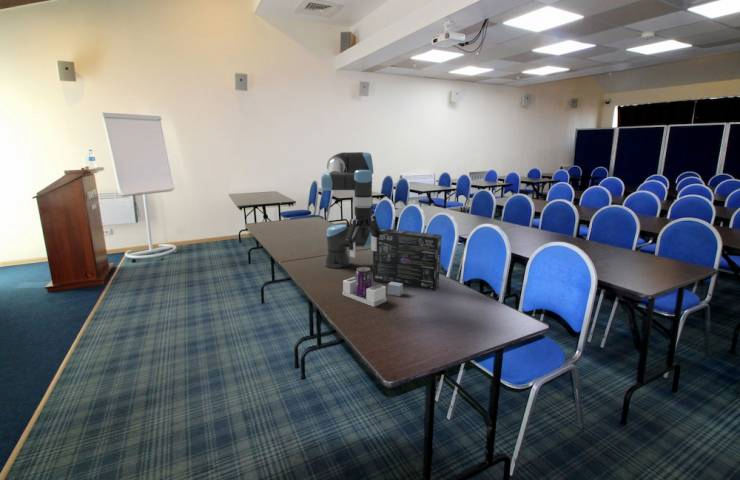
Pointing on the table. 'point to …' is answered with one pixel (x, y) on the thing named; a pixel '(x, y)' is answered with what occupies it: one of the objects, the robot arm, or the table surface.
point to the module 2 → (375, 293)
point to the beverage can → (363, 280)
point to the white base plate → (363, 299)
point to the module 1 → (349, 285)
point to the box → (407, 258)
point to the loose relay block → (395, 288)
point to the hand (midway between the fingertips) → (363, 253)
